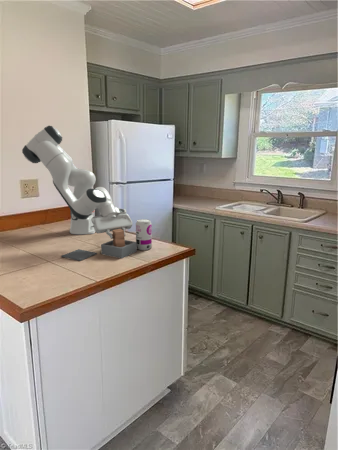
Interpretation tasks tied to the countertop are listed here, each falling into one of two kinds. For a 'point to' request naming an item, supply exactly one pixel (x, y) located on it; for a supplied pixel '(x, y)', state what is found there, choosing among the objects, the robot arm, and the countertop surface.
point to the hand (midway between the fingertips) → (118, 237)
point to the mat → (79, 254)
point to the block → (118, 238)
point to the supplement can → (143, 234)
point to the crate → (118, 249)
